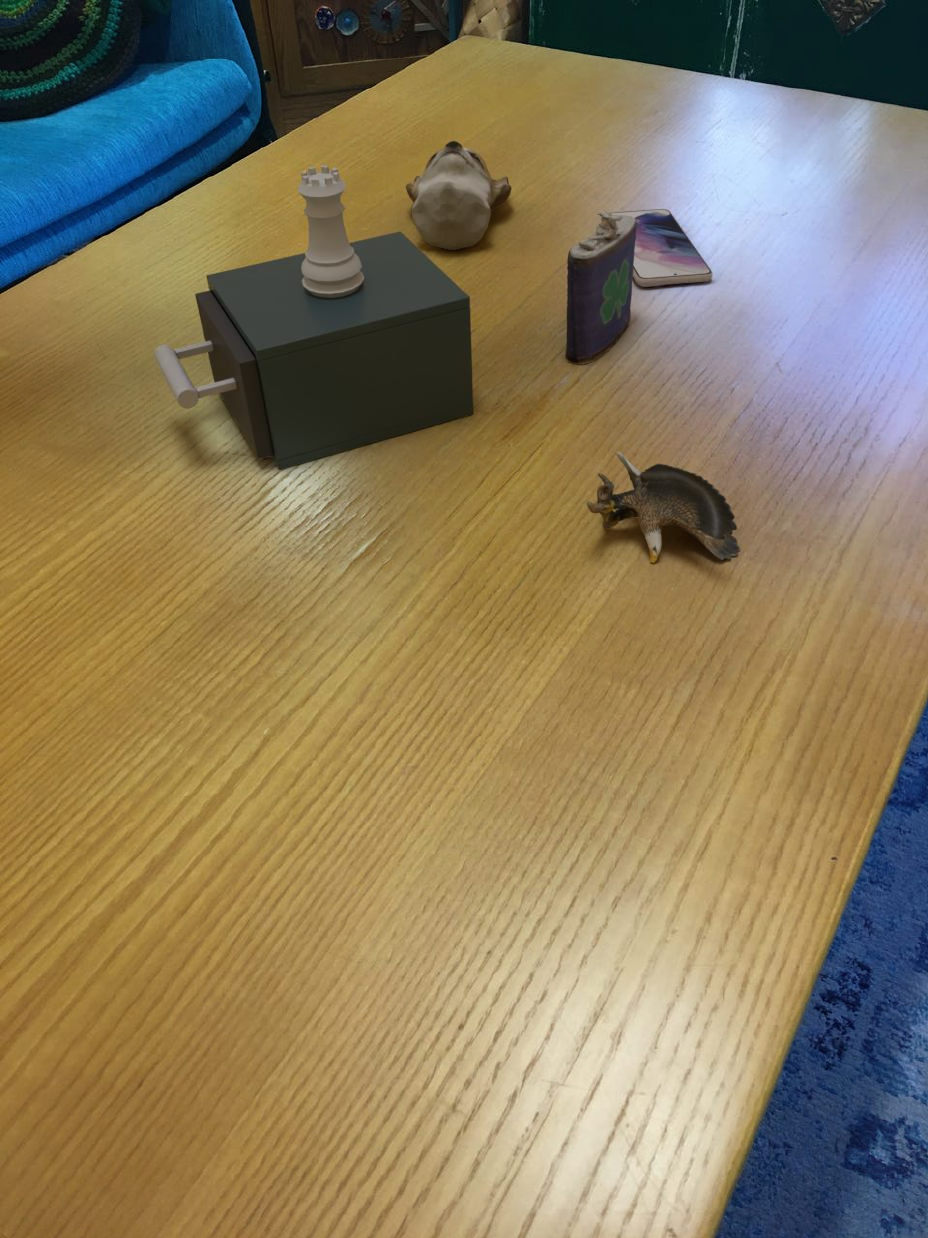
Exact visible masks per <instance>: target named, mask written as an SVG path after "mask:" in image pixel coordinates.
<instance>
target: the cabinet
mask: <svg viewBox="0 0 928 1238" xmlns="http://www.w3.org/2000/svg"><path fill="white" fill-rule="evenodd" d="M349 244H350V246H351V247H353V249H354V253H355V254H356V255H357V256H358V257H359V259H360V262H361V265H362V267H361V269H360V272H362V273H363V276H364V279H363V281H362V283H361V285H360V286H359V288H358V290H356V291H355V292H353V293H352V294H349V295H346V296H343V297H336V298H323V297H318V296H315V295H313V294H311V293H310V292H309V291H308V290H307V289H306V288H305V287H304V286H303V283H302V279H303V278H304V275H303V274H302V270H301V266H302V263H303V261H304V259H305V258H306V255H305V253H306V252H302V253H299V254H294V255H289V256H285V257H281V258H277V259H272V260H268V261H263V262H259V263H255V264H250V265H246V266H241V267H237V268H233V269H227V270H223V271H220V272H215V273H211V274H206V276H205V277H206V281H207V285H208V291H211V292H212V294H213V295H214V297H215V298H216V300H217V301H218V303H219V304H220V306H221V307H222V309H223V310H224V312H225V313H226V315H227V316H228V318H229V319H230V321H231V322H232V324H233V325H234V327H235V328H236V330H237V331H238V330H239V332H240V333H241V335H242V336H243V338H244V339H245V341H246V342H247V344H248V345H249V347H250V348H251V350H252V351H253V353H254V354H255V356H256V362H257V367H258V373H259V378H260V383H261V389H262V394H263V399H264V405H265V410H266V416H267V421H268V426H269V432H270V437H271V442H272V448H273V453H274V455H273V456H270V458H271V460H272V461H273V463H274V464H275V466H276V468H277V469H278V470H279V471H280V470H284V469H287V468H291V467H294V466H298V465H301V464H305V463H308V462H311V461H316V460H318V459H322V458H325V457H329V456H333V455H337V454H339V453H342V452H346V451H350V450H354V449H356V448H361V447H364V446H367V445H370V444H374V443H377V442H381V441H384V440H388V439H392V438H395V437H398V436H402V435H406V434H408V433H412V432H416V431H419V430H423V429H426V428H429V427H433V426H436V425H440V424H443V423H446V422H450V421H455V420H457V419H458V420H459V419H461V418H464V417H468V416H471V415H474V390H473V389H474V388H473V387H474V386H473V384H474V383H473V355H472V354H473V353H472V326H471V325H472V323H471V319H472V318H471V307H470V306H471V298H470V296H469V295H468V294H467V293H466V292H465V291H464V290H463V289H462V288H461V287H460V286H459V285H458V284H457V283H455V281H454V280H452V279H451V278H450V277H449V276H448V275H447V274H446V273H445V271H443V270H442V269H441V268H440V267H439V266H438V265H436V264H435V263H434V261H432V260H431V259H430V258H429V257H428V256H427V255H426V254H425V253H424V252H423V251H422V250H421V249H420V248H418V246H416V244H415V243H414V242H412V241H411V240H410V239H409V238H408V237H407V236H406V234H404V233H403V232H402V231H395V232H391V233H387V234H382V235H377V236H373V237H369V238H365V239H364V238H363V239H360V240H356V241H355V240H354V241H351V242H349ZM239 332H238V333H239Z"/></svg>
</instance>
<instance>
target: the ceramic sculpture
mask: <svg viewBox="0 0 928 1238" xmlns="http://www.w3.org/2000/svg"><path fill="white" fill-rule="evenodd" d="M509 182H510V181H509V177H508V176H504V177H502V178H498V179H493V178H492V176H491V173H490V171H489V169H488V166H487V163H486V161H485V160H484V158H483V157H482V156H481V155H480V154H479V153H478V152H477V151H476V150H474V149H471V148H467V147H463V145H462V144H461V143H460V142H459V141H456V140H451V141H449V142H447V143H446V144H445V145H444V147H443V148H441V149H439V150H437V151H436V152H435V153H434V154H432V155H431V156H430V157H429V158H428V160H427V163H426V164H425V168H424V171H423V173H422V174H421V175H420V176H419V175H416V176H415V178H414V180H413V183H411V182H409V183H406V185H405V189H406V192H407V195H408V197H409V199H410V200H411V201H412V203H413V205H412V206H411V217H412V220H413V223H414V226H415V228H416V230H417V232H418V234H419V235H420V237H421V238H422V239H423V240H424V242H426V244H428V245H430V246H432V247H438V248H441V249H443V248H444V249H443V250H447V249H448V251H456V249H457V250H461V249H464V248H468V247H472V246H475V245H476V244H477V243H478V242H480V240H481V239H482V238H483V236H484V234H485V233H486V231H487V229H488V227H489V223H490V219H491V215H492V211H494V210H496V209H497V208H500V207H501V206H503V205H504V204H505V203H506V202H507V200H508V199H509V197H510V195H511V192H512V186H511V185H510V183H509Z"/></svg>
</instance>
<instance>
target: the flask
mask: <svg viewBox="0 0 928 1238" xmlns="http://www.w3.org/2000/svg"><path fill="white" fill-rule="evenodd" d="M610 213H611V212H607V211H606V210H602V211H597V212H596V215H597V216H599V217H600V218H601V217H602V219H603V221H601V222H600V223H599V224H598V226H597V227H596V229H595V233H594V234H593V235H591V236H590V237H587V238H586V239H585V240H582V239H580V240H579V241H578V243H576V244H573V246H571V248H570V249H569V250H568V254H567V259H566V261H567V262H566V263H567V268H566V269H567V275H566V278H567V280H566V284H567V285H566V286H567V288H566V297H567V298H566V348H565V359H566V362H567V363H572V364H574V365H585V364H589V363H591V362H593V361H595V360H597V359H598V358H600V357H601V356H603V355H604V354H606V352H608V351H610V349H612V347H613V346H614V345H615V344H617V343H616V342H617V341H618V340H619V339H620V338H621V337H622V335H623V334H624V333H625V332H626V331H627V329H628V327H629V324H630V320H631V311H632V310H631V303H632V295H633V278H634V277H633V264H634V252H635V240H636V229H637V220H636V219H635V218H633V217H632V216H627V215H614V214H610Z"/></svg>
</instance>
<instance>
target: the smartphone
mask: <svg viewBox="0 0 928 1238" xmlns="http://www.w3.org/2000/svg"><path fill="white" fill-rule="evenodd" d="M609 213H610V214H614V215H627V216H632V217H633V218H635V219H636V220H637V229H636V240H635V252H634V264H633V277H632V278H633V279H634V281H635V282H636V284H637V285H638V286H640V287H642V288H648V287H651V288H652V287H661V286H665V285H675V284H676V285H677V284H691V283H703V282H709V281H710V280H712V278H713V275H714V274H713V270H711V268H710V266H709V265H708V264H707V262H706V261H705V259H704V258H703V257H702V255H701V253H700V252H699V251H698V249H697V248H696V246H695V245H694V243H693V242H692V240H691V239H690V238H689V236H688V235H687V234H686V232H685V231H684V229H683V228H682V227H681V225H680V224H679V222H678V221H677V219H676V218H675V216H674V215H673V214H672V212H671V211H670V210H669V209H667V208H654V209H641V210H629V211H627V210H626V211H614V212H613V211H612V212H609ZM600 220H601V222H602V221H603V219H602V217H601V216H600Z"/></svg>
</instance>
